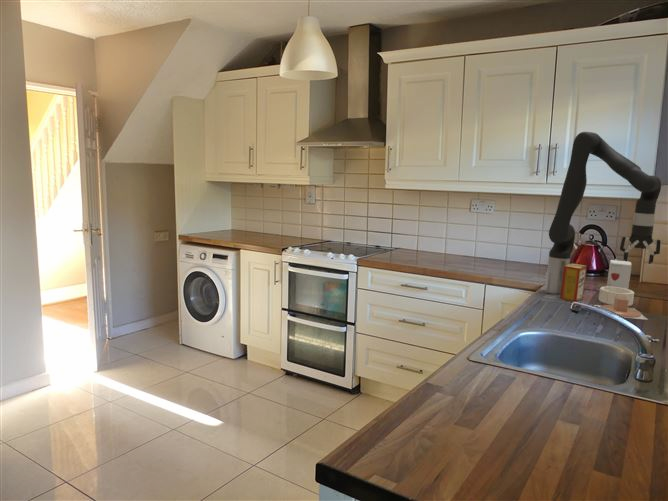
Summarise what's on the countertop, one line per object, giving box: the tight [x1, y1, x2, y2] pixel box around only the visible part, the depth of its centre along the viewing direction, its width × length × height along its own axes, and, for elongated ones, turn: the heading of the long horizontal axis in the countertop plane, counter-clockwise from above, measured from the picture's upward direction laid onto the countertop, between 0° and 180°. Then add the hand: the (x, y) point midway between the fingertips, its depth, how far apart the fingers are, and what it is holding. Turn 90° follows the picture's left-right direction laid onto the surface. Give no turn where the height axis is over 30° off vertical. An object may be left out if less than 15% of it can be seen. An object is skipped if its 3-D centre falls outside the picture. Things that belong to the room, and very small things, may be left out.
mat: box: [593, 304, 649, 321], centre depth 208 cm, size 16×16×1 cm
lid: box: [600, 297, 642, 319], centre depth 207 cm, size 15×15×6 cm
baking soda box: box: [560, 263, 588, 302], centre depth 226 cm, size 10×6×16 cm
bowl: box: [598, 285, 635, 307], centre depth 223 cm, size 13×13×6 cm
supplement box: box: [606, 259, 633, 289], centre depth 242 cm, size 9×9×15 cm
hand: (637, 262), depth 210 cm, fingers open, 8 cm apart
